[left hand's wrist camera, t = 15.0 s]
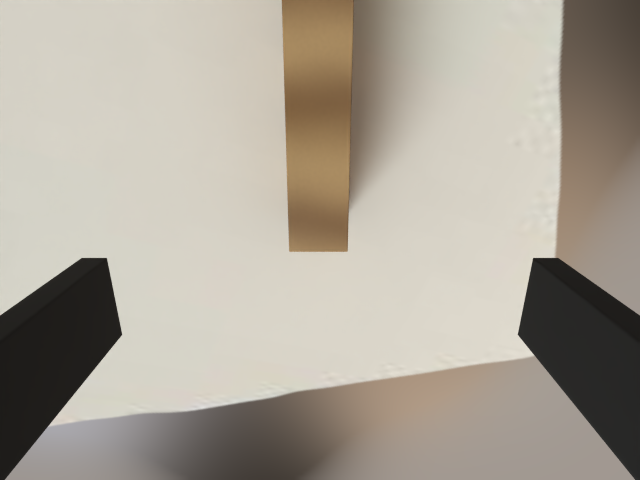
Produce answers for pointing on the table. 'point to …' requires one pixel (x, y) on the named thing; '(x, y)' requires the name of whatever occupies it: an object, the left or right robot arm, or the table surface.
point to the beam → (318, 121)
